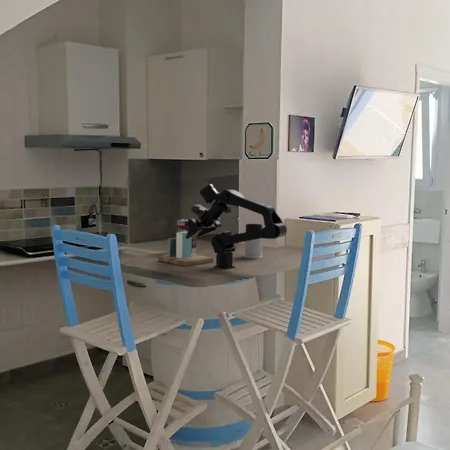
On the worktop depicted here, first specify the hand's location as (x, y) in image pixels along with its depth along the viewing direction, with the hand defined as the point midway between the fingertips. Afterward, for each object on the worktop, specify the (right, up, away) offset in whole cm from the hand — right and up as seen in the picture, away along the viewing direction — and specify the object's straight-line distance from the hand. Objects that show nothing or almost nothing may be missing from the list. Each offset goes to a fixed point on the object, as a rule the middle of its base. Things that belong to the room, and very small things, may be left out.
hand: (192, 237), depth 254 cm
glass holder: (+26, -9, +24) cm, 37 cm away
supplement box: (-4, -9, +28) cm, 30 cm away
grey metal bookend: (-7, -8, +10) cm, 14 cm away
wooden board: (-3, -11, +6) cm, 12 cm away
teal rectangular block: (-4, -9, +3) cm, 10 cm away
